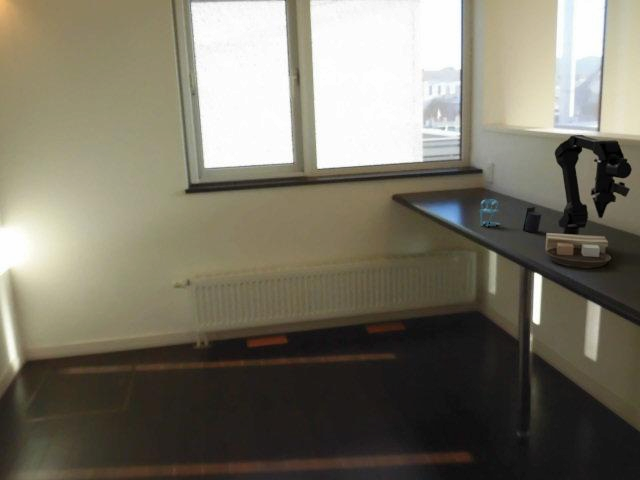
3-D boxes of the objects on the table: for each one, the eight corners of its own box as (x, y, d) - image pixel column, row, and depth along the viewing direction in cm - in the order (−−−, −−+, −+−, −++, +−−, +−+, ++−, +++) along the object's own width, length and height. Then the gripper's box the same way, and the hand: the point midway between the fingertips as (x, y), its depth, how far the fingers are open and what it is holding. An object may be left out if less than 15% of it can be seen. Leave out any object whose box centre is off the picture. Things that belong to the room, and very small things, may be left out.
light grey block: (583, 247, 203) (583, 255, 204) (599, 248, 202) (598, 256, 203) (582, 244, 208) (581, 252, 209) (597, 245, 207) (596, 253, 207)
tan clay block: (558, 245, 206) (557, 254, 206) (573, 246, 204) (572, 255, 205) (557, 242, 210) (556, 251, 211) (572, 243, 209) (571, 252, 209)
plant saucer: (592, 255, 218) (593, 246, 218) (621, 270, 198) (622, 260, 197) (536, 255, 218) (537, 247, 217) (560, 270, 198) (561, 261, 197)
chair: (476, 225, 272) (477, 199, 270) (484, 223, 278) (486, 197, 276) (491, 227, 267) (493, 201, 264) (500, 225, 273) (501, 199, 270)
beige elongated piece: (545, 248, 228) (546, 232, 226) (602, 251, 221) (604, 236, 220) (546, 254, 217) (547, 238, 216) (606, 258, 211) (608, 242, 210)
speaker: (518, 229, 262) (523, 206, 259) (530, 229, 264) (534, 206, 261) (529, 234, 256) (533, 210, 252) (540, 234, 257) (545, 210, 254)
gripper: (634, 179, 204) (629, 223, 207) (624, 173, 221) (620, 214, 225) (598, 177, 207) (594, 221, 211) (592, 172, 225) (588, 213, 228)
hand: (600, 217), depth 218 cm, fingers closed
